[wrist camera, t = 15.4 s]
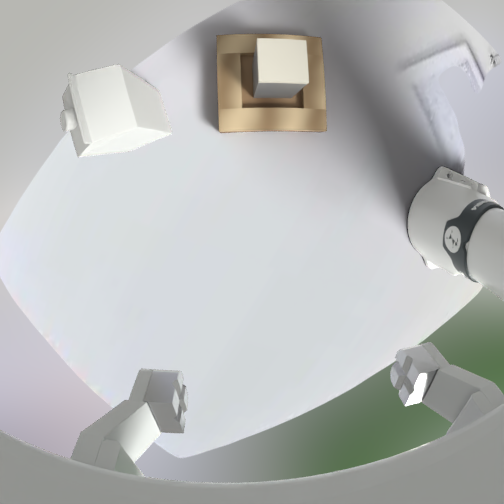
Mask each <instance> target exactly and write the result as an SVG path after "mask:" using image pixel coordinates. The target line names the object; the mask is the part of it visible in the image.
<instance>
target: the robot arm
mask: <svg viewBox="0 0 504 504" xmlns="http://www.w3.org/2000/svg"><path fill="white" fill-rule="evenodd" d="M447 174H448V177H447ZM408 234H409V238H410V241H411V243H412V245H413V247H414V248H415V249H416V251H417V252H419V253H420V254H421V255H422V256H423V258H424V261H425V264H426V266H427V267H428V268H430V269H435V268H437V267H439V268H441V269H443V270H444V271H446V272H448V273H450V274H451V275H454V276H456V275H458V274H462V275H463V276H464V277H466V278H467V279H470V280H471V281H473V282H479V283H480V284H482V285H483V286H484V287H486V288H487V289H488V290H490V291H491V292H492V293H494V294H495V295H496V296H497V297H499V298H500V299H501V300H503V301H504V209H503V208H502V207H501V206H500V205H499V204H498V202H497V201H496V200H494V199H492V198H490V195H489V190H488V188H487V186H485V185H483V184H480V183H478V182H476V181H473V180H472V179H469V178H468V177H466V176H463V175H461V174H459V173H457V172H455V171H453V170H450V169H448V168H446V167H443V166H441V167H439V168H438V169H437V171H436V173H435V174H434V176H433V178H432V179H431V180H430V181H429V182H428V183H426V184H425V185H424V186H423V187H422V188H421V189H420V190H419V191H418V193H417V194H416V196H415V198H414V200H413V202H412V204H411V207H410V211H409V215H408ZM395 358H396V360H397V361H396V362H395V363H394V365H393V366H392V369H391V381H392V384H393V386H394V387H395V388H397V389H398V390H400V391H399V397H400V398H401V400H402V402H403V404H404V405H405V406H408V405H411V404H415V403H418V402H421V401H422V403H424V404H425V405H427V406H428V407H429V408H431V409H432V410H434V411H435V412H437V413H438V414H440V415H441V416H443V417H444V418H446V419H447V420H449V421H450V422H452V423H453V424H452V426H451V427H450V428H449V430H448V431H447V435H445V436H443V437H441V438H439V439H436V440H434V441H432V442H429V443H427V444H424V445H422V446H420V447H417V448H414V449H412V450H409V451H406V452H403V453H401V454H398V455H395V456H392V457H389V458H386V459H383V460H379V461H376V462H373V463H369V464H365V465H361V466H357V467H353V468H350V469H345V470H340V471H336V472H331V473H326V474H320V475H315V476H309V477H302V478H295V479H286V480H278V481H265V482H247V483H205V482H204V483H203V482H187V481H175V480H165V479H158V478H151V477H144V475H143V473H142V472H141V471H140V470H139V468H138V467H137V466H136V465H135V463H134V462H135V461H136V460H137V459H138V458H139V457H140V456H141V455H142V454H143V453H144V452H145V451H146V450H147V449H148V447H149V446H150V445H151V444H152V443H153V442H154V441H155V440H156V439H157V438H158V436H159V435H160V434H161V432H165V433H184V428H185V421H186V419H185V416H184V412H185V411H186V410H187V406H188V394H187V389H186V386H185V385H183V379H184V378H183V375H182V372H181V371H172V370H156V369H154V370H152V369H141V370H140V371H139V372H138V375H137V378H136V380H135V383H134V386H133V389H132V391H131V394H130V397H129V400H124V401H123V402H121V403H120V404H119V405H117V406H116V407H115V408H113V409H112V410H111V411H109V412H108V413H107V414H105V415H104V416H103V417H102V418H100V419H98V420H97V421H96V422H94V423H93V424H92V425H90V426H89V427H88V428H86V429H85V430H83V431H82V432H81V433H80V436H79V438H78V440H77V443H76V446H75V448H74V451H73V453H72V456H71V459H69V458H66V457H63V456H60V455H57V454H54V453H51V452H49V451H46V450H44V449H41V448H39V447H36V446H34V445H31V444H29V443H27V442H24V441H22V440H20V439H18V438H16V437H13V436H12V435H10V434H8V433H6V432H4V431H1V430H0V504H504V394H503V393H502V392H501V391H500V389H499V388H498V387H497V386H496V384H495V383H494V382H492V381H489V380H487V379H485V378H482V377H480V376H478V375H475V374H473V373H471V372H468V371H466V370H464V369H462V368H460V367H457V366H455V365H449V363H448V362H447V361H446V359H445V358H444V357H443V356H442V355H441V354H440V352H439V351H438V350H437V348H436V347H435V346H434V345H433V344H432V343H430V342H428V343H425V344H420V345H416V346H412V347H408V348H404V349H400V350H399V351H398V352H397V354H396V357H395Z"/></svg>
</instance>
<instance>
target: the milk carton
mask: <svg viewBox="0 0 504 504" xmlns="http://www.w3.org/2000/svg"><path fill="white" fill-rule="evenodd" d="M68 80H69V85H68V87H67V89H66V90H65V92H64V94H63V97H62V98H63V103H64V107H65V110H63V111H62V112H61V116H60V122H61V126H62V129H63V131H64V132H67V131H70V132H71V136H72V139H73V143H74V146H75V150H76V153H77V156H78V158H79V157H86V156H95V155H103V154H113V153H124V152H130V151H133V150H135V149H137V148H139V147H142V146H144V145H146V144H149V143H151V142H153V141H156V140H158V139H161V138H163V137H166V136H168V135H171V134H172V129H171V126H170V123H169V120H168V116H167V113H166V110H165V107H164V104H163V100H162V97H161V94H160V91H159V90H158V89H156V88H155V87H153V86H152V85H150V84H149V83H147V82H146V81H144V80H143V79H141V78H140V77H138V76H137V75H135V74H134V73H132V72H131V71H129V70H127V69H126V68H124V67H123V66H121V65H120V64H117V65H112V66H108V67H103V68H99V69H95V70H91V71H87V72H83V73H79V74H76V75H74V74H71V73H68Z"/></svg>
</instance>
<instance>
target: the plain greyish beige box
mask: <svg viewBox="0 0 504 504" xmlns="http://www.w3.org/2000/svg"><path fill="white" fill-rule="evenodd" d="M252 73H253V98H292V97H293V96H294V95H295V94H297V93H298V92H299V91H300V90H301V89H302V88H303V87H305V86H306V85H307V84H308V83H309V74H308V58H307V45H306V40H294V39H272V38H257V41H256V47H255V52H254V57H253V63H252Z"/></svg>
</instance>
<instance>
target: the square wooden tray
mask: <svg viewBox="0 0 504 504" xmlns="http://www.w3.org/2000/svg"><path fill="white" fill-rule="evenodd" d="M257 38H272V39H294V40H306V45H307V58H308V74H309V83H308V84H307V85H306V86H305V87H303V88H302V89H301V90H300V91H299V92H298V93H297V94H295V95H294V96H293V97H292V98H253V73H252V63H253V57H254V52H255V47H256V41H257ZM217 82H218V115H219V132H220V133H230V132H257V131H300V132H324V131H327V122H326V96H325V78H324V64H323V51H322V40H321V38H320V37H310V36H299V35H282V34H232V35H217Z"/></svg>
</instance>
